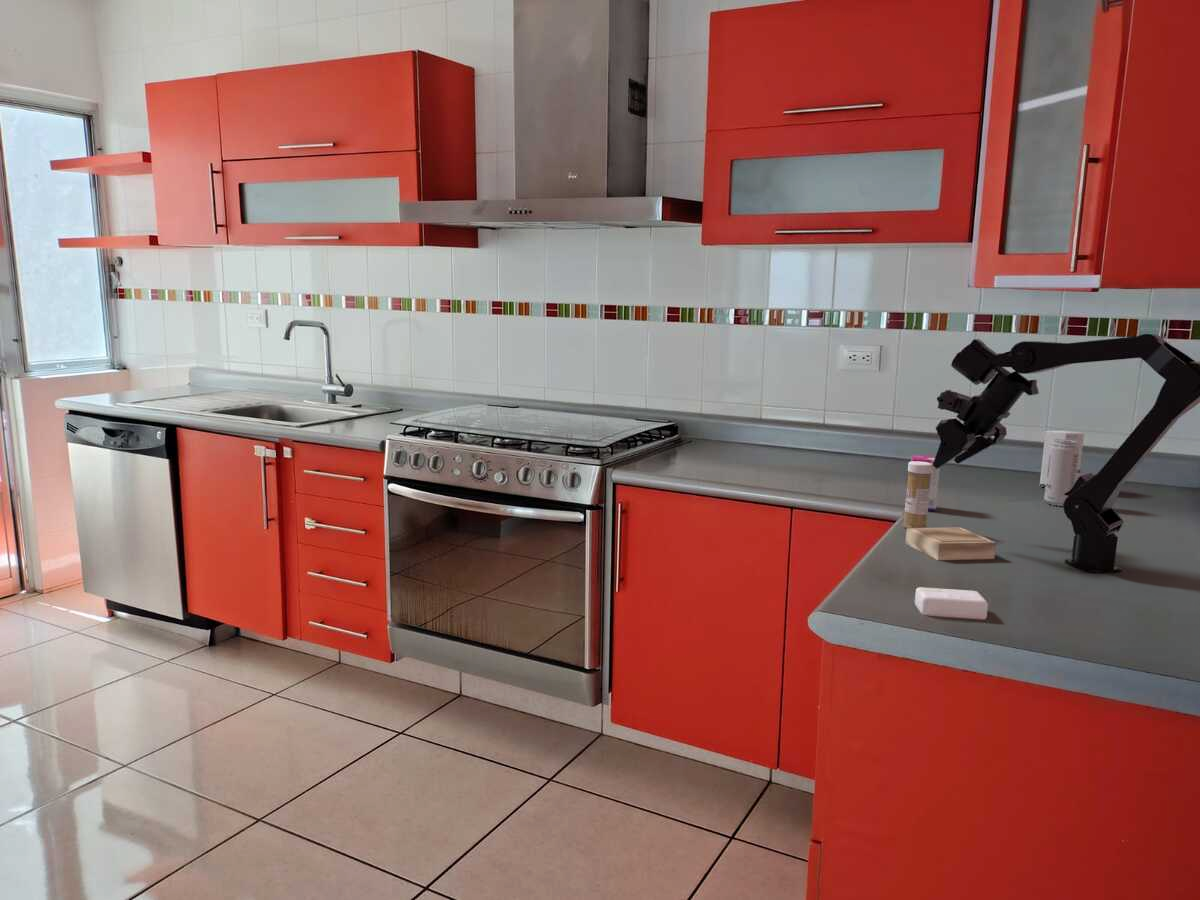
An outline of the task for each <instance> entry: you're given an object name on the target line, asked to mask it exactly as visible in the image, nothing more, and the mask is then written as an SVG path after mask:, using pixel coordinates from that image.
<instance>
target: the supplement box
mask: <svg viewBox="0 0 1200 900" xmlns="http://www.w3.org/2000/svg"><path fill="white" fill-rule="evenodd" d="M935 457H936V456H925V455H911V457H910V462H911V461H921V462H928V463H931V464H932V473H931V476H930V492H929V502H928V512H937V507H938V506H937V505H938V494H939V493H938V492H939V483H940V481H939V480H940V471H941V470H940V469H941V467H939V468H935V467H934V466H933V462H934V460H935Z"/></svg>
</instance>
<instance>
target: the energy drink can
mask: <svg viewBox="0 0 1200 900" xmlns="http://www.w3.org/2000/svg"><path fill="white" fill-rule="evenodd" d="M1078 456H1079V448H1078V446H1077V442H1076V441H1072V440H1061V439H1056V440H1054V442H1053V444H1052V445H1051V446H1050V451H1049V460H1048V469H1047V478H1046V487H1045V488H1044V498H1043V499H1044V501H1045V502H1046V501H1047V502H1050V503H1055V504H1064V501H1065V499H1066V498H1067V497H1068V496H1066V495H1064V494H1065V493H1066V492H1068V491H1070V490H1071V489H1072V488H1073V486H1074V484H1075V481H1076V473H1077V464H1078Z"/></svg>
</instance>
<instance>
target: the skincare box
mask: <svg viewBox="0 0 1200 900" xmlns="http://www.w3.org/2000/svg"><path fill="white" fill-rule="evenodd" d="M1084 436H1085V432H1080V431H1079V432H1077V431H1069V430H1046V431H1044V442H1043V451H1042V459H1041V468H1040V478H1039V479H1040V480H1039V485H1040V484H1045V485H1046V478H1047V469H1048V460H1049V451H1050V446H1051V445H1052V444H1053V442H1054V440H1056V439H1061V440H1072V441H1076V442H1077V446H1078V448H1079V456H1078V464H1077V473H1076V481H1077V479H1078V478H1079V477H1080V476H1081V475H1080V474H1081V466H1082V465H1081V464H1082V457H1083V456H1082V455H1083V447H1084V446H1083V445H1084V438H1085V437H1084ZM1076 481H1075V482H1076Z"/></svg>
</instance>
